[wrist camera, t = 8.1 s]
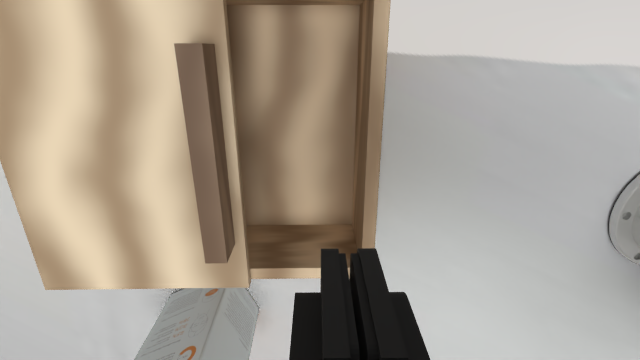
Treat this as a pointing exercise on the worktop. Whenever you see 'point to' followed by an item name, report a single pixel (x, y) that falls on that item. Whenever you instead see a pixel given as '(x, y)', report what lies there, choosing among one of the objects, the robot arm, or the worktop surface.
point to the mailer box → (308, 127)
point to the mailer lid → (123, 142)
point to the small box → (203, 326)
